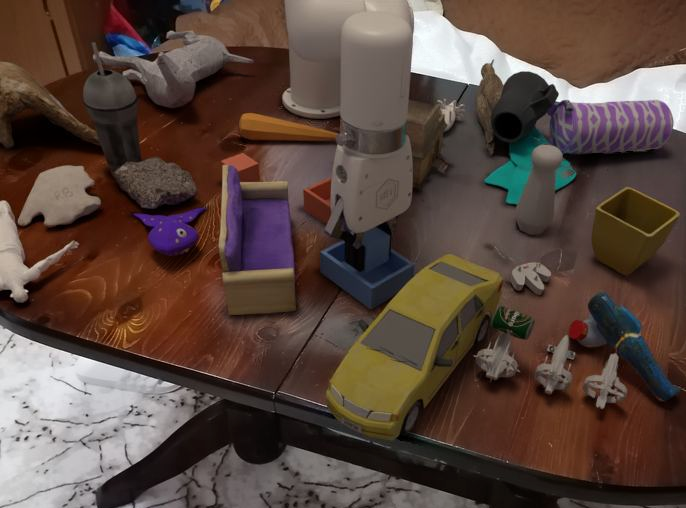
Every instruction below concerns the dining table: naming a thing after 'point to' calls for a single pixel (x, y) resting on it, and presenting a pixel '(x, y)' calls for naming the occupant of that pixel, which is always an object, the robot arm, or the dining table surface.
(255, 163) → the red block
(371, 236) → the blue block
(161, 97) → the statue
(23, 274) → the figurine
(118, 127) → the beverage cup
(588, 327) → the red capped bottle
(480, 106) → the bird model
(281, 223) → the toy sofa
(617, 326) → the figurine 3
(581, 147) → the pencil case
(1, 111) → the rock
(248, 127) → the carrot
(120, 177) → the stone
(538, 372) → the toy vehicles
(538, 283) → the game controller
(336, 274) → the blue bin
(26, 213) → the decorative object
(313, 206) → the red bin
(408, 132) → the wooden crate
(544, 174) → the salt shaker
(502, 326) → the beer can
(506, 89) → the mug
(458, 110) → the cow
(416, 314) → the toy car
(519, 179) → the cloth
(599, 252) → the flower pot
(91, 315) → the dining table surface
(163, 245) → the toy
